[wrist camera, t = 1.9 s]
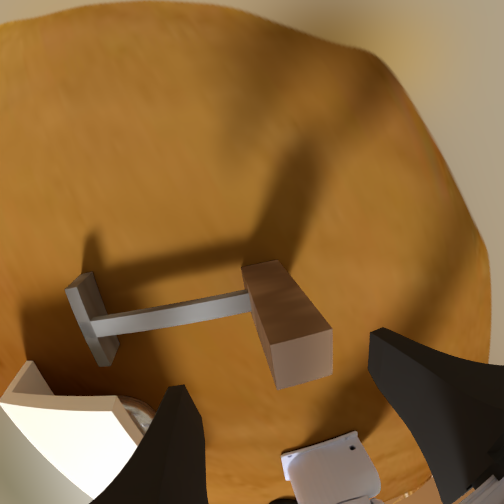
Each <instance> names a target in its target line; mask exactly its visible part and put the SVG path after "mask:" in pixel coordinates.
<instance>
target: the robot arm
mask: <svg viewBox="0 0 504 504" xmlns="http://www.w3.org/2000/svg"><path fill="white" fill-rule="evenodd" d="M368 371H369V373H370V374H371V376H372V378H373V380H374V382H375V383H376V385H377V387H378V389H379V390H380V391H381V393H382V394H383V395H384V397H385V398H386V399H387V400H388V402H389V403H390V404H391V406H392V407H393V408H394V410H395V411H396V412H397V413H398V415H399V416H400V417H401V419H402V420H403V421H404V423H405V424H406V425H407V427H408V428H409V430H410V431H411V433H412V435H413V437H414V438H415V440H416V442H417V444H418V446H419V447H420V449H421V451H422V453H423V455H424V457H425V459H426V461H427V463H428V466H429V468H430V470H431V473H432V475H433V477H434V480H435V483H436V485H437V488H438V491H439V494H440V498H441V501H442V502H443V504H452V503H453V502H455V501H456V500H457V499H458V498H460V497H461V496H463V495H464V494H465V493H466V492H468V491H469V490H470V489H471V488H474V489H475V491H474V492H473V493H471V494H470V495H469V496H468V497H466V498H465V499H464V500H462V501H461V502H460V503H459V504H504V366H502V365H501V366H500V365H492V364H485V363H479V362H474V361H470V360H466V359H462V358H458V357H455V356H451V355H449V354H446V353H443V352H440V351H437V350H435V349H432V348H430V347H427V346H425V345H422V344H420V343H418V342H415V341H413V340H411V339H409V338H406V337H404V336H402V335H400V334H398V333H395V332H393V331H391V330H389V329H386V328H384V327H382V328H380V329H377V330H375V331H372V332H370V344H369V359H368ZM357 436H358V433H357V431H353V432H350V433H348V434H345V435H342V436H340V437H337V438H334V439H331V440H328V441H325V442H322V443H319V444H316V445H313V446H309V447H306V448H302V449H299V450H295V451H292V452H288V453H284V454H282V455H281V460H282V465H283V470H284V475H285V479H286V480H290V481H291V484H292V487H293V490H294V493H295V496H296V499H297V502H298V504H384V502H383V501H382V500H380V499H376V498H373V499H370V498H372V497H374V496H376V495H377V494H379V492H380V490H381V482H380V478H379V475H378V472H377V470H376V468H375V466H374V465H373V463H372V461H371V459H370V458H369V456H368V454H367V452H366V451H365V449H364V447H363V445H362V444H361V442H360V440H359V438H358V437H357ZM369 499H370V500H369ZM89 504H208V498H207V490H206V466H205V438H204V430H203V424H202V417H201V415H200V414H199V412H198V410H197V408H196V406H195V404H194V402H193V400H192V399H191V397H190V395H189V393H188V391H187V389H186V387H185V385H178V386H172V387H169V388H168V389H167V391H166V393H165V395H164V397H163V399H162V401H161V404H160V406H159V408H158V410H157V412H156V414H155V416H154V418H153V420H152V422H151V424H150V425H149V427H148V429H147V431H146V433H145V435H144V436H143V438H142V440H141V441H140V443H139V445H138V447H137V448H136V450H135V451H134V453H133V454H132V456H131V457H130V459H129V460H128V462H127V463H126V464H125V466H124V467H123V469H122V470H121V471H120V472H119V474H118V475H117V476H116V477H115V478H114V479H113V481H112V482H111V483H110V484H109V485H108V486H107V487H106V488H105V489H104V490H103V491H102V492H101V493H100V494H99V495H98V496H97V497H96V498H95V499H94V500H93V501H92V502H91V503H89Z"/></svg>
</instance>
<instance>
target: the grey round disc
mask: <svg viewBox="0 0 504 504" xmlns="http://www.w3.org/2000/svg"><path fill="white" fill-rule="evenodd" d="M117 397H118V399H119V400H120V402H121V404H122V405H123V407H124V408H125V410H126V411H127V413H128V415H129V416H130V418H131V419H132V421H133V422H134V423H135V425H136V426H137V428H138V429H139V431H140V432H141V433H142V435H143V436H144V435H145V433H146V431H147V429H148V427H149V425H150V424H151V422H152V420H153V418H154V416H155V414H156V413H155V411H154V410H153V409H152V408H151V407H150V406H149V405H148V404H147V403H145V402H143V401H141V400H139V399H137V398H134V397H130V396H117Z"/></svg>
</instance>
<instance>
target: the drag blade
mask: <svg viewBox="0 0 504 504" xmlns="http://www.w3.org/2000/svg"><path fill="white" fill-rule="evenodd" d="M241 270H242V276H243V281H244V286H245V290H241V291H236V292H231V293H226V294H221V295H216V296H211V297H206V298H201V299H196V300H190V301H185V302H180V303H174V304H169V305H163V306H157V307H152V308H146V309H140V310H134V311H128V312H122V313H116V314H110V315H108V314H107V312H106V309H105V306H104V304H103V301H102V298H101V295H100V293H99V290H98V287H97V284H96V281H95V278H94V275H93V272H88V273H84V274H81V275H80V276H78V277H77V278H76V279H75V280H74V281H73V282H72V283H71V284H70V285H69V286H68V287H67V288H66V289H65V292H66V295H67V297H68V300H69V303H70V305H71V308H72V310H73V313H74V315H75V317H76V320H77V322H78V324H79V327H80V329H81V331H82V333H83V335H84V338H85V340H86V342H87V344H88V346H89V348H90V350H91V352H92V354H93V356H94V358H95V360H96V362H97V364H98V366H99V367H104V366H111V364H112V362H113V359H114V357H115V354H116V352H117V350H118V347H119V345H120V343H119V341H118V338H117V336H116V335H119V334H126V333H133V332H140V331H147V330H153V329H160V328H166V327H172V326H178V325H183V324H189V323H195V322H200V321H205V320H211V319H216V318H221V317H226V316H231V315H236V314H241V313H245V312H250V311H251V314H252V317H253V320H254V323H255V326H256V329H257V332H258V335H259V338H260V341H261V344H262V347H263V350H264V353H265V356H266V359H267V362H268V365H269V368H270V371H271V373H272V376H273V379H274V382H275V385H276V388H277V390H279V389H283V388H287V387H291V386H295V385H298V384H302V383H305V382H309V381H312V380H316V379H319V378H322V377H325V376H329V375H332V371H333V333H332V328H331V326H330V325H329V324H328V322H327V321H326V320H325V319H324V317H323V316H322V315H321V314H320V312H319V311H318V310H317V308H316V307H315V306H314V305H313V303H312V302H311V301H310V300H309V298H308V297H307V296H306V295H305V293H304V292H303V291H302V290H301V288H300V287H299V286H298V285H297V283H296V282H295V281H294V279H293V278H292V277H291V276H290V274H289V273H288V272H287V271H286V270H285V268H284V267H283V266H282V265H281V263H280V262H279V261H278V260H273V261H268V262H264V263H259V264H254V265H249V266H244V267H241Z"/></svg>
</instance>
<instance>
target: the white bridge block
mask: <svg viewBox="0 0 504 504" xmlns="http://www.w3.org/2000/svg"><path fill="white" fill-rule="evenodd" d="M0 405H1V407H2V408H3V409H4V411H5V412H6V413H7V415H8V416H9V417H10V418H11V420H12V421H13V422H14V423H15V425H16V426H17V427H18V428H19V429H20V431H21V432H22V433H23V434H24V435H25V436H26V438H27V439H28V440H29V441H30V442H31V443H32V444H33V445H34V446H35V447H36V448H37V449H38V450H39V451H40V453H42V455H43V456H44V457H45V458H46V459H47V460H49V462H51V463H52V464H53V465H54V466H55V467H56V468H57V469H58V470H59V471H60V472H61V473H62V474H63V475H65V476H66V477H67V478H68V479H69V480H71V481H72V482H73V483H74V484H75V485H76V486H78V487H79V488H80V489H81V490H83V491H84V492H85V493H86V494H88V495H89V496H90V497H92V498H93V499H95V498H96V497H97V496H98V495H99V494H100V493H101V492H102V491H103V490H104V489H105V488H106V487H107V486H108V485H109V484H110V483H111V482H112V481H113V479H114V478H115V477H116V476H117V475H118V474H119V472H120V471H121V470H122V469H123V467H124V466H125V464H126V463H127V462H128V460H129V459H130V457H131V456H132V454H133V453H134V451H135V450H136V448H137V447H138V445H139V443H140V441H141V440H142V438H143V435H142V433H141V432H140V431H139V429H138V428H137V426H136V425H135V423H134V422H133V421H132V419H131V418H130V416H129V415H128V413H127V411H126V410H125V408H124V407H123V405H122V404H121V402H120V400H119V399H118V397H117V395H114V396H55V395H54V394H53V392H52V391H51V389H50V388H49V386H48V385H47V383H46V381H45V380H44V378H43V377H42V375H41V373H40V372H39V370H38V368H37V367H36V365H35V363H34V361H26V362H25V364H24V365H23V367H22V368H21V369H20V371H19V372H18V373H17V375H16V376H15V378H14V379H13V381H12V382H11V384H10V385H9V386H8V388H7V389H6V391H5V392H4V394H3V396H2V397H1V399H0Z"/></svg>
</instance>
